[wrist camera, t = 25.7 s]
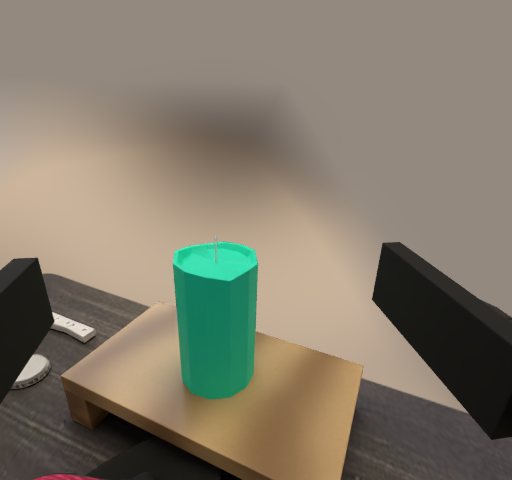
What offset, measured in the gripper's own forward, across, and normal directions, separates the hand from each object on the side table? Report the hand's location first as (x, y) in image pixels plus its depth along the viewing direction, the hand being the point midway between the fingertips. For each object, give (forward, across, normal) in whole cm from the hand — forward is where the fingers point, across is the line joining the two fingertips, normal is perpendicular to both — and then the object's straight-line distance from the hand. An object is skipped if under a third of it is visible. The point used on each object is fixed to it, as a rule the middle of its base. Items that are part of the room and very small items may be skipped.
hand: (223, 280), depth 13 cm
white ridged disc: (+17, -19, -19) cm, 32 cm away
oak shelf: (+10, 0, -19) cm, 22 cm away
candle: (+10, 0, -14) cm, 17 cm away
